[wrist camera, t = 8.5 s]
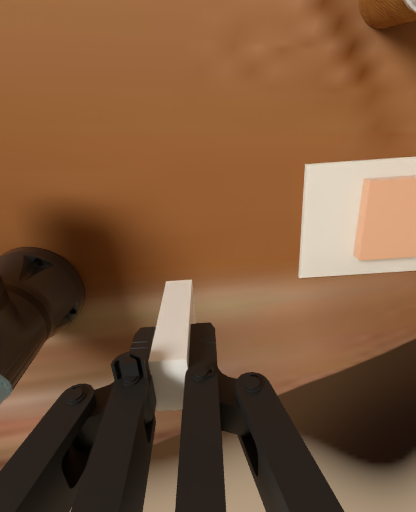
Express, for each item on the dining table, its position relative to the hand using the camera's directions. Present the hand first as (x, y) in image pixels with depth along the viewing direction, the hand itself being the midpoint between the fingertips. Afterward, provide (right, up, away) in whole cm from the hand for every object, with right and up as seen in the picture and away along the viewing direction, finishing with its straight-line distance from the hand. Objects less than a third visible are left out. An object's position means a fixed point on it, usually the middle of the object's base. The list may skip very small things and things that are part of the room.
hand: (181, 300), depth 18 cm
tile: (+24, +8, +27) cm, 37 cm away
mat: (+27, +8, +29) cm, 40 cm away
